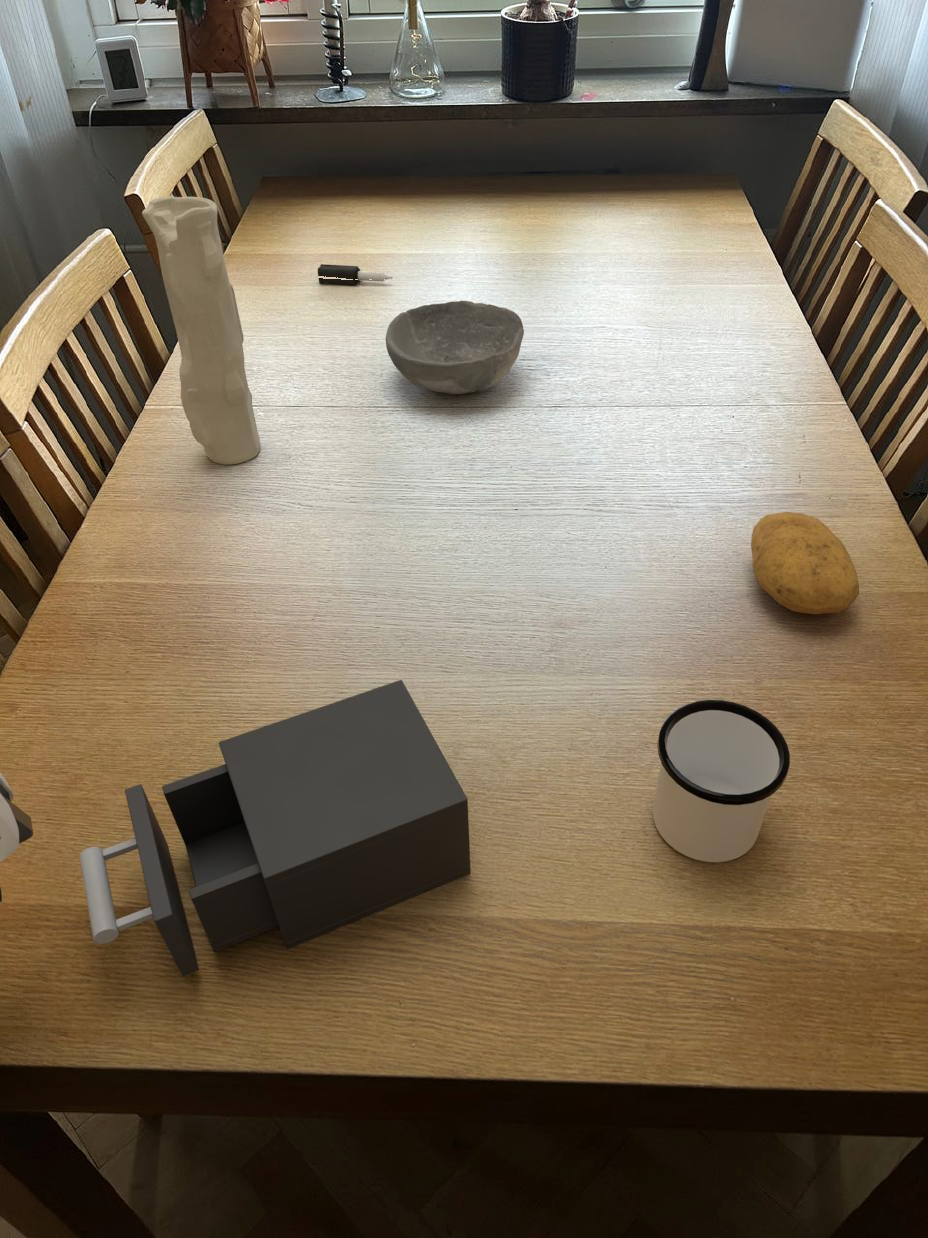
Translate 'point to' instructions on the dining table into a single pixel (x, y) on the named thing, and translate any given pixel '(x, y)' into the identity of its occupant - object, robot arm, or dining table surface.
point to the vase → (205, 327)
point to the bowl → (455, 345)
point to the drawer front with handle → (218, 863)
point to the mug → (716, 778)
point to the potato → (803, 564)
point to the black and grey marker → (348, 274)
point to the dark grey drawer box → (348, 810)
